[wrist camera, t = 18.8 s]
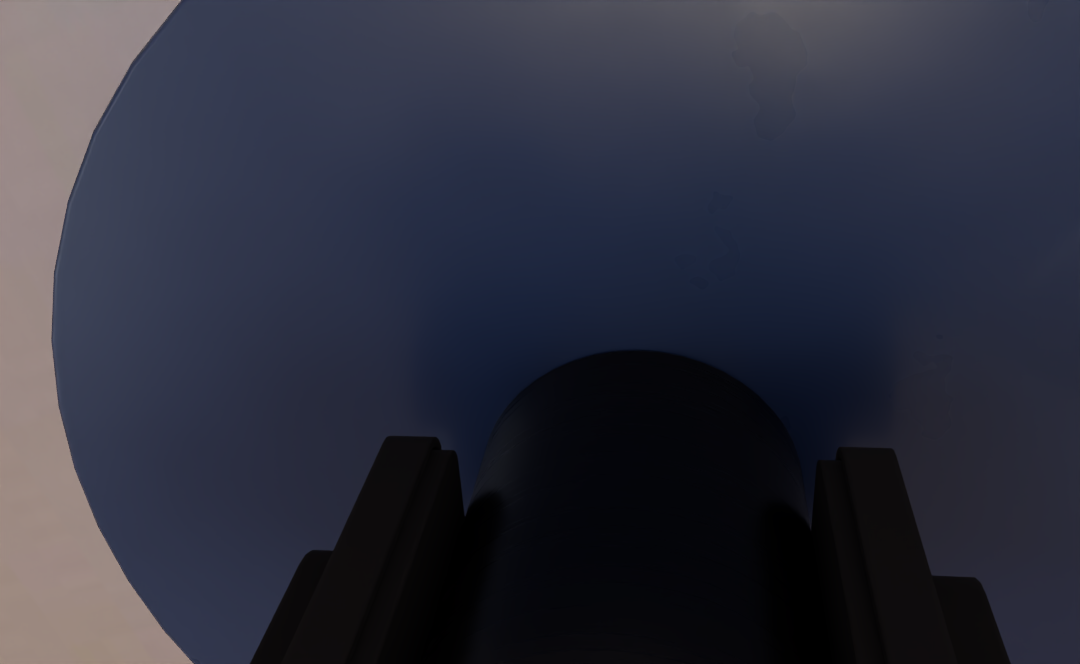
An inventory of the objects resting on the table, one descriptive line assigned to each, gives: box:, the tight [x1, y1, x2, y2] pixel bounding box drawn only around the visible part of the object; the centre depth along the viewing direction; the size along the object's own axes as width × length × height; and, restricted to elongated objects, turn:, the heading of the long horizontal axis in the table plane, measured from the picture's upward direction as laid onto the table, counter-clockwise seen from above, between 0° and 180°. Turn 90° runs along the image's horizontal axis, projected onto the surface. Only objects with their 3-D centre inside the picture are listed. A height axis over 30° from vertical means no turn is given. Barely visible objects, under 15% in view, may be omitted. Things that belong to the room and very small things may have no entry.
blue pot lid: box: [52, 0, 1080, 664], centre depth 10 cm, size 15×15×8 cm
